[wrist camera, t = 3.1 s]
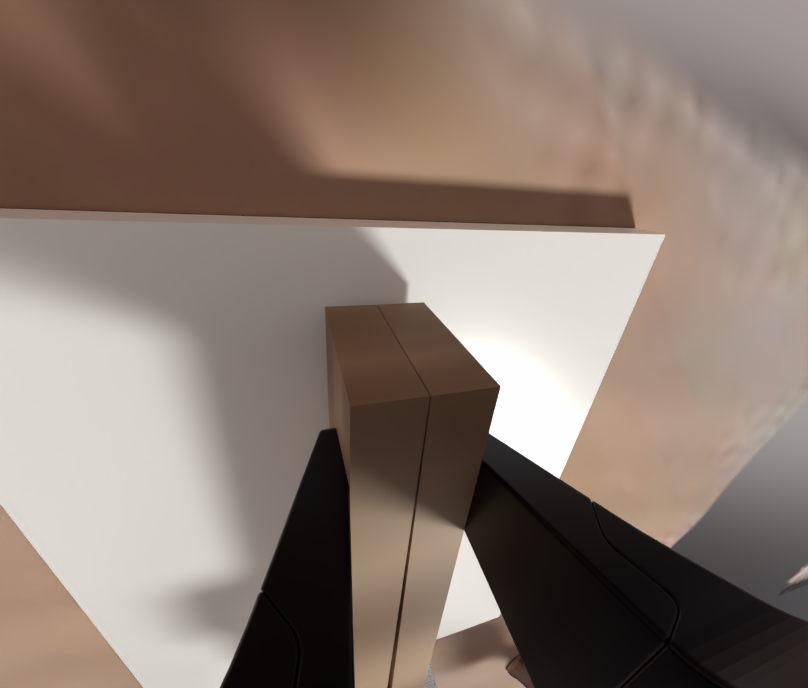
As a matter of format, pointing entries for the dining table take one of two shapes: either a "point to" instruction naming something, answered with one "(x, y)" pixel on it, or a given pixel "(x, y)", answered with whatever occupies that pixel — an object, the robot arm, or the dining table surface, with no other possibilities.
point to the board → (255, 391)
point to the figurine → (520, 672)
